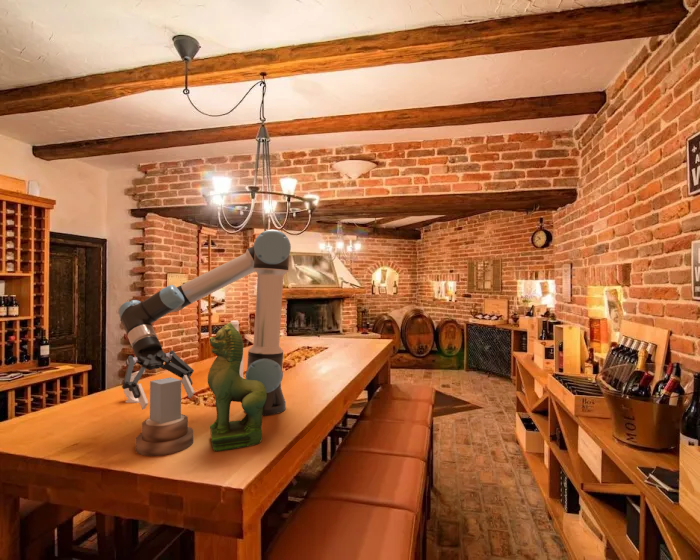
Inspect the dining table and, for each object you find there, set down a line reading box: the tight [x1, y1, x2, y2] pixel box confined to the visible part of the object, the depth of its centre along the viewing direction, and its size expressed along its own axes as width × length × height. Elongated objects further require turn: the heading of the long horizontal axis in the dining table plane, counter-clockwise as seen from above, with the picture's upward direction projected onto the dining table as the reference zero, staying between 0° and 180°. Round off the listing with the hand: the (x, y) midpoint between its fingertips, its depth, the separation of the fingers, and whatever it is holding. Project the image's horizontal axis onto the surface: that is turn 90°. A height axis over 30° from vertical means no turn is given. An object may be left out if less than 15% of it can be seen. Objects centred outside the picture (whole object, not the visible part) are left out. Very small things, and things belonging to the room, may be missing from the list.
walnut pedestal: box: [135, 413, 194, 457], centre depth 114 cm, size 15×15×7 cm
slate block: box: [149, 377, 182, 424], centre depth 114 cm, size 6×6×11 cm
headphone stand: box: [123, 370, 146, 404], centre depth 157 cm, size 5×6×12 cm
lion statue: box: [207, 322, 267, 452], centre depth 117 cm, size 14×17×35 cm
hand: (169, 400), depth 113 cm, fingers open, 13 cm apart
